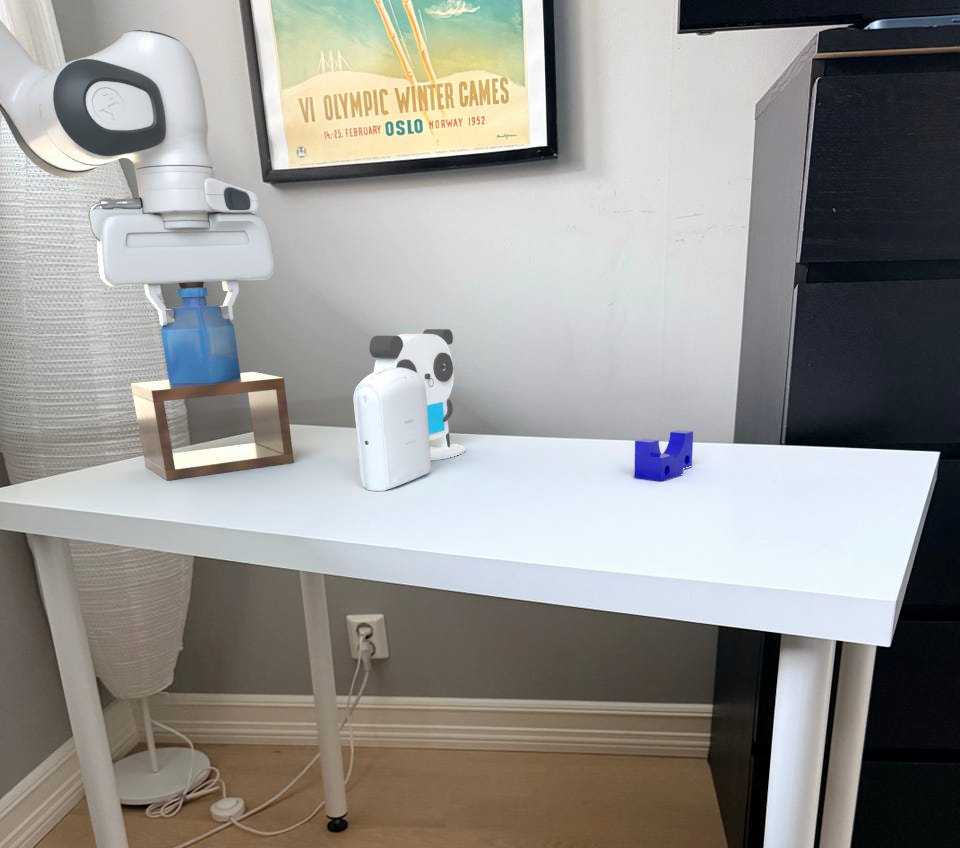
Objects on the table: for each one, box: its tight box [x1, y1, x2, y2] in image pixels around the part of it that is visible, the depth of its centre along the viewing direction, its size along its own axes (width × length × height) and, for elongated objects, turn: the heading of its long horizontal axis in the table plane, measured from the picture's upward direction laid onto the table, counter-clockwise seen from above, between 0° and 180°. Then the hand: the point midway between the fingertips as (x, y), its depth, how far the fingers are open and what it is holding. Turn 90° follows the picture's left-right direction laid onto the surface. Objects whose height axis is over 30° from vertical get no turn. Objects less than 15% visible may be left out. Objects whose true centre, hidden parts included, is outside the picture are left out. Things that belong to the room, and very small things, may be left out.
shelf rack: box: [130, 371, 295, 482], centre depth 117 cm, size 16×12×10 cm
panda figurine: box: [368, 328, 466, 461], centre depth 117 cm, size 12×11×15 cm
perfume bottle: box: [160, 282, 241, 384], centre depth 113 cm, size 6×6×12 cm
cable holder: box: [634, 429, 694, 482], centre depth 101 cm, size 8×4×4 cm, turn 135°
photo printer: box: [352, 367, 432, 492], centre depth 102 cm, size 10×4×12 cm, turn 153°
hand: (197, 323), depth 113 cm, fingers closed on perfume bottle, 6 cm apart
